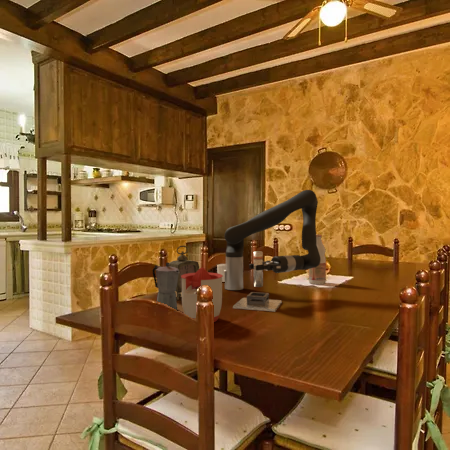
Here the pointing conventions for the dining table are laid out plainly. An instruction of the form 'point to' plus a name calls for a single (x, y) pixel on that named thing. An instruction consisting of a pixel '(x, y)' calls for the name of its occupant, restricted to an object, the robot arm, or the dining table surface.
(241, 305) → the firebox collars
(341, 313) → the dining table surface
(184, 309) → the citrus juicer
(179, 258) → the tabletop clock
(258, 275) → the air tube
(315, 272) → the fruit juice
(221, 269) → the white cup
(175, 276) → the moka pot
